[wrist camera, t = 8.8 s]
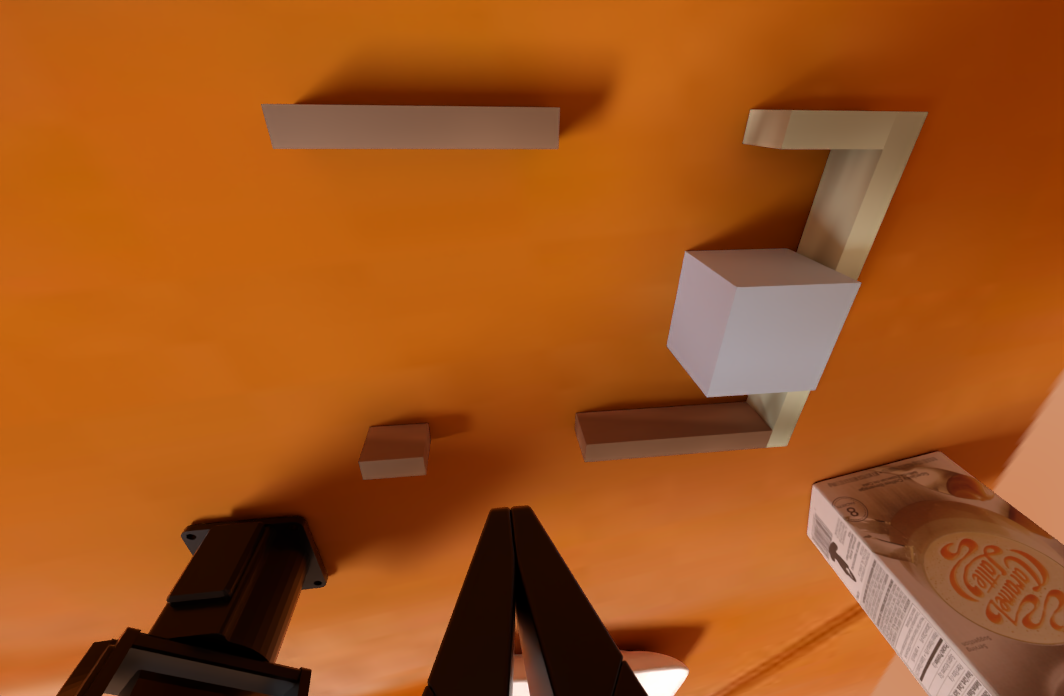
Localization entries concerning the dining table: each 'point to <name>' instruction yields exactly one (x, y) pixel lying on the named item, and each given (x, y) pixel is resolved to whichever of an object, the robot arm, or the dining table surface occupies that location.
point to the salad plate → (649, 667)
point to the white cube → (757, 320)
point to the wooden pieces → (828, 238)
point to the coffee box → (948, 576)
